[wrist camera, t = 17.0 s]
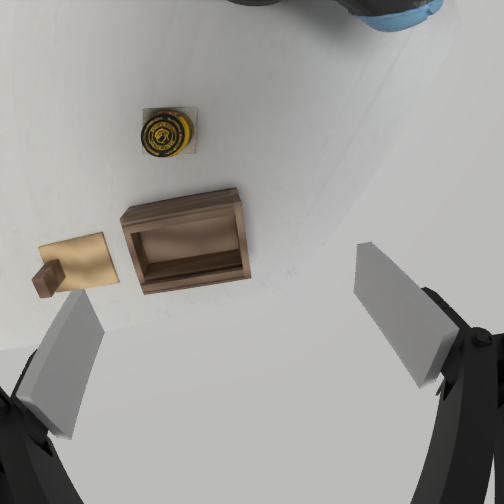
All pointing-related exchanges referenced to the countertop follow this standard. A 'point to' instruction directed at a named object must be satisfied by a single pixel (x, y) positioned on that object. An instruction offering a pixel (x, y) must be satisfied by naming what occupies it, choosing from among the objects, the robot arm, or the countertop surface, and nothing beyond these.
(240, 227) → the walnut box
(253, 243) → the countertop surface
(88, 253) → the cover plate
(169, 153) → the condiment
